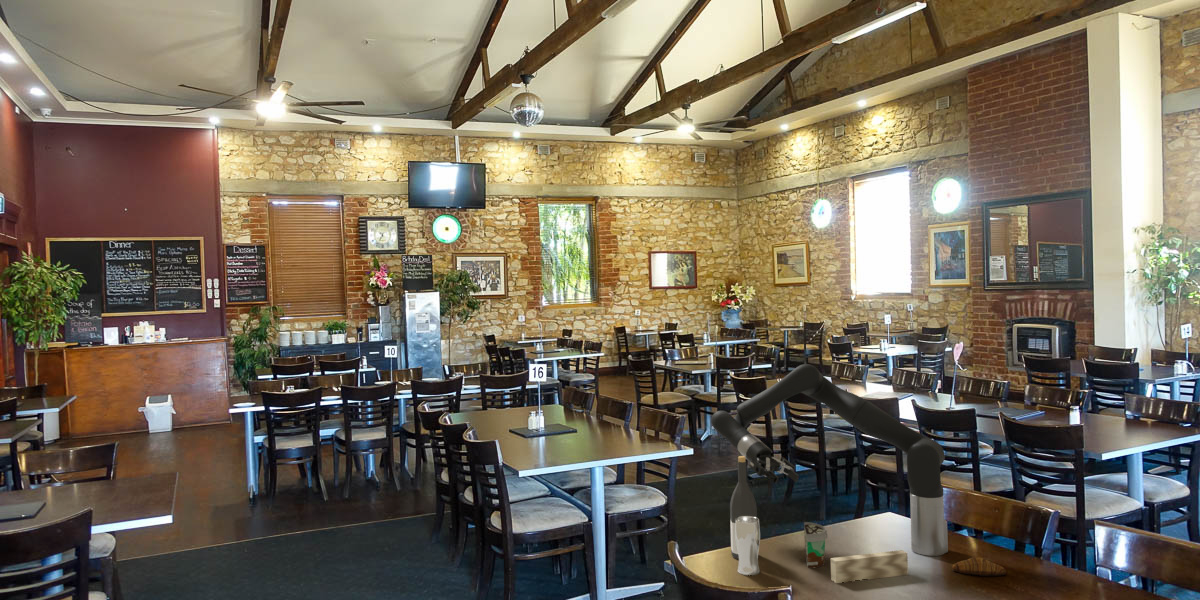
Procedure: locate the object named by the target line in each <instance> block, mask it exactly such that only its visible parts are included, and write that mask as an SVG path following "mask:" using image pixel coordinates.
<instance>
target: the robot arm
mask: <svg viewBox="0 0 1200 600" xmlns="http://www.w3.org/2000/svg"><path fill="white" fill-rule="evenodd" d="M798 394H803V395H805V396H807V397H810V398H811V399H814V400H815V401H818V402H819V403H821V404H822V405H825V406H826V407H828V408H829V409H830V410H832V411H833V412H834V413H835V414H836V415H837V416H839V417H840V418H842V419H843V420H845V422H847V423H848V424H850V425H851V426H852V427H854V428H855V429H858V430H859V431H860V432H862V433H863V434H865V435H867V436H869V437H872V438H873V439H877V440H880V441H883V442H886V443H888V444H891V445H893V446H894V447H897V448H898V449H899V450H901V451H902V452H904V454H906V469H907V470H906V472H907V483H908V486H909V498H910V501H909V502H910V503H909V505H910V506H909V507H910V508H909V509H910V543H911V547H910V548H911V550H912V552H914V553H916V554H918V555H923V556H932V557H935V556H937V557H939V556H942V555H944V554H946V553H948V552H949V548H948V545H949V542H948V541H949V540H948V521H947V520H946V519H945V510H944V507H945V506H944V487H943V484H942V480H941V477H942V476H941V465H942V464H943V463H944V462H945V459H946V455H945V454H946V453H945V451H944V448H943V447H942V446H941V444H940V443H938V442H937V441H935V440H934V439H933V438H930V437H928V436H926V435H924V434H922V433H920V432H918V431H916V430H914V429H912V428H910V427H908V426H906V425H905V424H903V423H902V422H901V421H900V420H898V419H897V418H895V417H893V416H892V415H890V414H889V413H887V412H886V411H884V410H883V409H881V408H880V407H878V406H877V405H875V404H874V403H872V402H871V401H869V400H867V399H865V398H863V397H862V396H860V395H857V394H854V393H852V392H849V391H847V390H845V389H843V388H840V387H839V386H837V385H836V384H835V383H833V382H832V381H830V380H829V379H828V378H826V377H825V376H824V375H823V374H822V373H821V372H820V371H819V369H818V368H817V367H816V366H814V365H812V364H808V363H805V364H800V365H798V366H796V368H794V369H793V370H792V371H790V372H789V373H788V374H787V375H785V376H784V377H783V378H782V379H780V380H779V381H777V382H776V383H774V384H772V386H770V387H768V388H766V389H765V390H763V391H762V392H760V393H758V394H756V395H754V396H752V397H750V398H748V399H746V400H745V401H744V402H740V404H739V405H737V406H736V412H737V413H736V415H735V416H733V415H732V414H731V413H729V412H728V411H726V410H718V411H716V412H714V413H713V414H712V416H711V422H710V423H711V425H712V427H713V429H714V430H715V431H716V432H717V433H718V434H719V435H720V436H721V437H722V438H724V439H727V441H728V442H729V443H730V445H732V447H733V448H735V449H736V451H738V452H739V453H740V454H741V456H745V460H747V462H749V468H750V469H752V470H753V471H754V473H756V474H757V475H758V476H759V477H762V476H763V477H765V478H767V479H769V480H770V481H771V482H772V483H773V484H778V482H779V479H780V477H779V476H778V475H777V474H776V473H779V474H784V475H786V476H787V477H789V478H790V479H791V480H792V481H793V482H796V483H797V482H799V479H800V475H799V474H798V473H797V472H796V471H795V470H796V466H795V465H794V464H793V463H791V462H790V461H789V460H788V459H786V458H785V457H784V456H781V457H780V459H778V458H777V457H775V456H774V454H773V450H772V449H771V448H770V447H769V446H768V445H766V444H765V443H764V442H763V441H761V439H760V438H758V437H756V436H755V435H753V434H752V432H750V431H749V430H748V429H746V428H747V427H748V426H749V424H751V423H752V422H755V421H756V420H758V419H760V418H762V417H763V416H765V415H767V414H768V413H770V412H772V411H773V409H775V408H777V406H778V405H780V404H781V403H782V402H784V401H785V400H787V399H788V398H791V397H793V396H795V395H798ZM775 472H776V473H775Z"/></svg>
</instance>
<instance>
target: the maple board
mask: <svg viewBox="0 0 1200 600" xmlns="http://www.w3.org/2000/svg"><path fill="white" fill-rule="evenodd" d="M908 558H909V557H908V552H907V551H904V550H891V551H883V552H882V551H881V552H874V553H864V554H857V555H848V556H847V555H845V556H839V557H838V556H836V557H831V558H830V579H831V581H832V582H833V581H834V583H835V584H843V583H842V582H844V583H849V582H848V581H852V582H856V581H855V580H860V581H863V580H862V579H868V580H876V579H883V578H891V577H892V578H893V577H900V576H908V575H909V562H908Z"/></svg>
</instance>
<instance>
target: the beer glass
mask: <svg viewBox="0 0 1200 600" xmlns="http://www.w3.org/2000/svg"><path fill="white" fill-rule="evenodd" d="M760 528H761V527H760V519H759V518H758V517H757V518H756V517H753V516H739V517H737V518H736V522H735V539H736V545H737V550H738V555H739V559H738V566H737V572H738V574H740V575H743V576H748V575H749V576H750V575H752V576H757V575H758V574H760V567H759V560H758V559H759V549H760V541H761V530H760Z"/></svg>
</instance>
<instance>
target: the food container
mask: <svg viewBox="0 0 1200 600" xmlns="http://www.w3.org/2000/svg"><path fill="white" fill-rule="evenodd" d="M803 529H804V552H805V553H804V555H805V556H804V557H805V561H806V566H807V568H808V569H813V567H816V568H820V567H819V566H821V567H822V566H824V565H825V554H826V553H825V551H826V550H825V549H826V540H827V538H828V532H827V529H826V527H824V526H823V525H821V524H818V523H814V522H807V521H804V522H803ZM823 564H824V565H823Z"/></svg>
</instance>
